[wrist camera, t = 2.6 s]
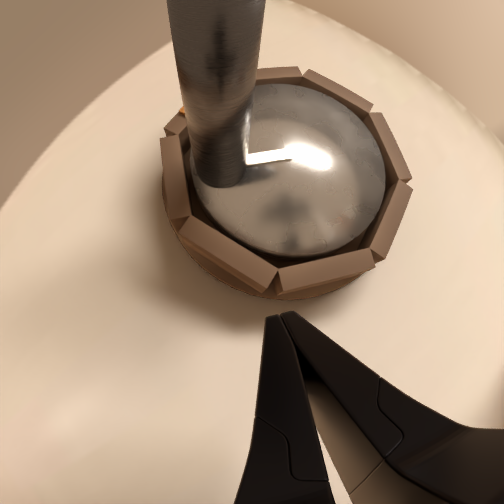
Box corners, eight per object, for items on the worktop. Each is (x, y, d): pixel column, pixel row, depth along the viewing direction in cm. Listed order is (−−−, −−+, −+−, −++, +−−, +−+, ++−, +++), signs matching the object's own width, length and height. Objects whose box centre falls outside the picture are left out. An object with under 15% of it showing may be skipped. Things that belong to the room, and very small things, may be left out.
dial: (396, 239, 19) (554, 136, 6) (213, 281, 18) (163, 150, 4) (337, 96, 22) (398, -43, 8) (182, 114, 21) (155, -58, 7)
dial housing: (418, 266, 21) (448, 255, 17) (187, 325, 19) (177, 325, 15) (345, 88, 24) (358, 60, 20) (155, 111, 22) (146, 79, 18)
